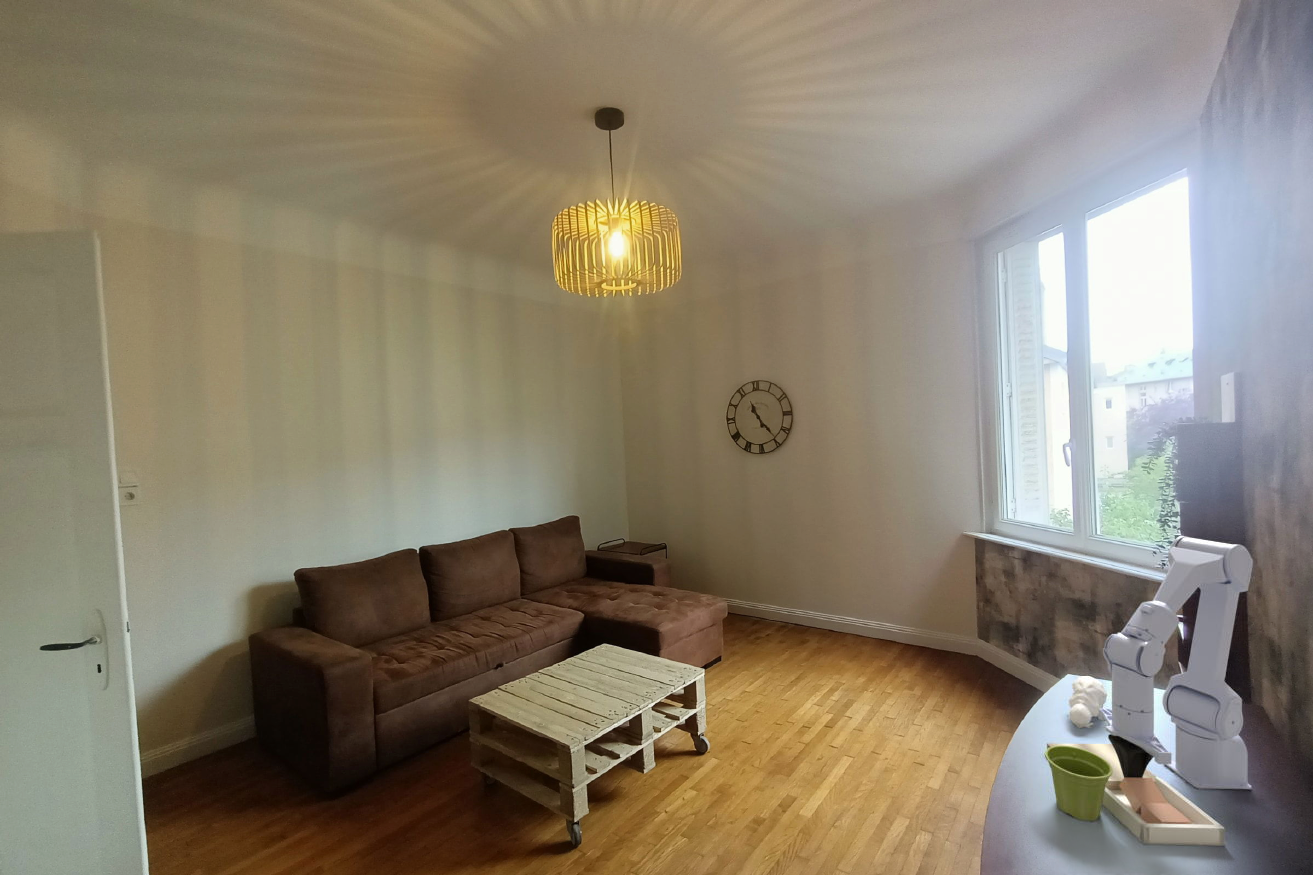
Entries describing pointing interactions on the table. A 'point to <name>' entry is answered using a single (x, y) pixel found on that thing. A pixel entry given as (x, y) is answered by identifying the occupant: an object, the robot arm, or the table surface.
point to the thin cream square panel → (1111, 757)
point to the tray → (1167, 834)
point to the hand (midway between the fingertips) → (1132, 780)
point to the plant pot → (1078, 780)
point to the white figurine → (1086, 700)
